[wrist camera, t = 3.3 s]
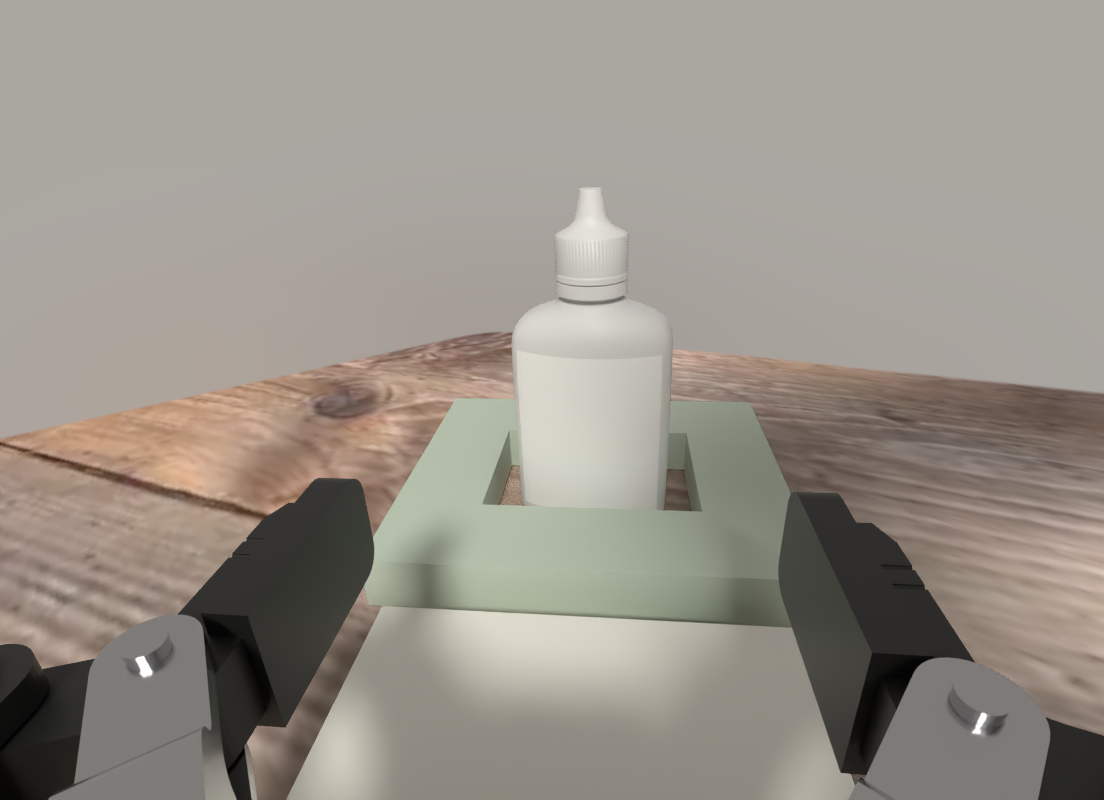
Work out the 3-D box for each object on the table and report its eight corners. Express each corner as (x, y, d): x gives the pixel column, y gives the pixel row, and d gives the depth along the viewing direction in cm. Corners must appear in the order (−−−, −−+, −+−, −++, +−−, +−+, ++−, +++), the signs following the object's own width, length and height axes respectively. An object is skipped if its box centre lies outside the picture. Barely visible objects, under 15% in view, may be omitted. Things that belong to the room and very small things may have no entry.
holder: (745, 435, 28) (749, 401, 28) (821, 629, 18) (831, 581, 17) (460, 430, 30) (456, 398, 29) (368, 605, 19) (358, 561, 18)
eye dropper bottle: (620, 562, 21) (625, 200, 16) (505, 505, 24) (479, 192, 19) (683, 504, 24) (704, 184, 19) (573, 460, 27) (565, 180, 22)
